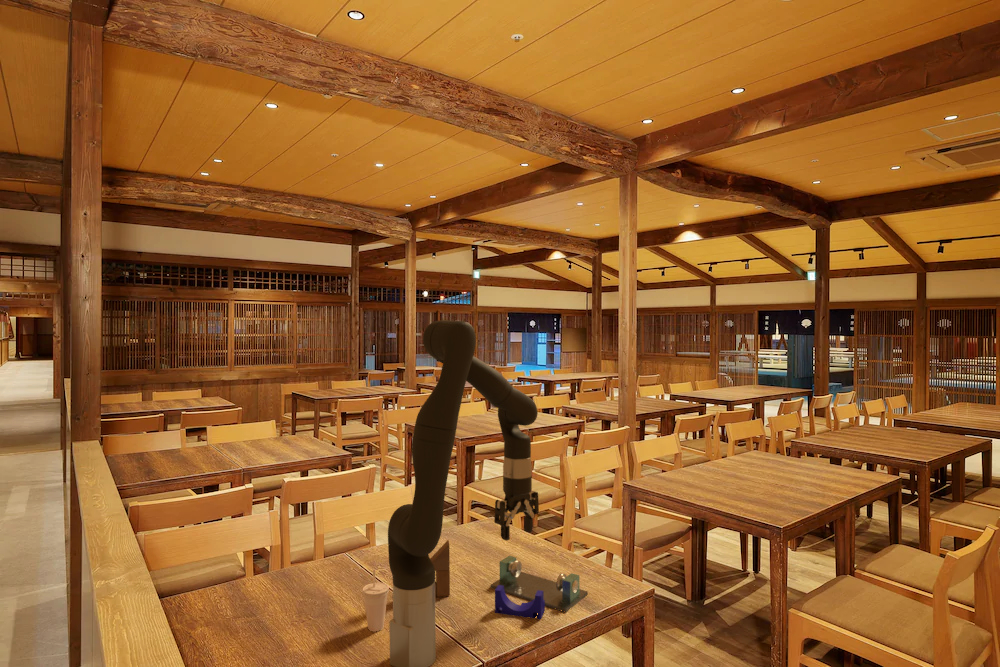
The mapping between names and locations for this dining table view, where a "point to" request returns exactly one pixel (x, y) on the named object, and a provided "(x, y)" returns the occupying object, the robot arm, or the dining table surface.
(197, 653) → the dining table surface
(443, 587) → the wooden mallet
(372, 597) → the smoothie
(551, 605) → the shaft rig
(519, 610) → the blue curved bracket
